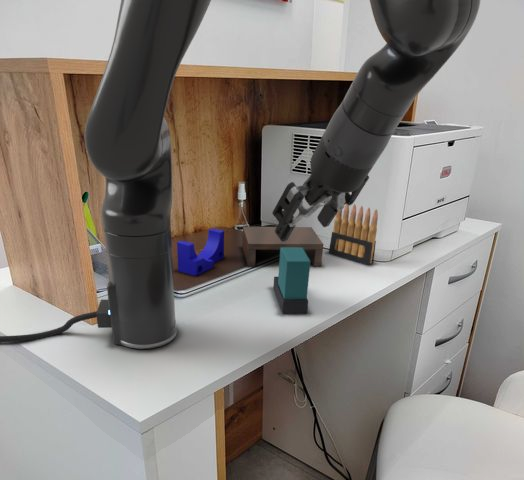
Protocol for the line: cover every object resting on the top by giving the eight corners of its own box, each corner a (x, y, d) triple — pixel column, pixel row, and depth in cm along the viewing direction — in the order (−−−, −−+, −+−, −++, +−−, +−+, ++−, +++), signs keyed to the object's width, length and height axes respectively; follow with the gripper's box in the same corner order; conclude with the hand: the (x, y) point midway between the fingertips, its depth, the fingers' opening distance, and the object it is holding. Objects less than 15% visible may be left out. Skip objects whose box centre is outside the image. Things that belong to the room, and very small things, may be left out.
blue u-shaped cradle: (195, 276, 99) (195, 247, 96) (178, 270, 101) (177, 242, 98) (229, 259, 108) (229, 232, 105) (212, 254, 110) (212, 228, 107)
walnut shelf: (247, 266, 105) (248, 243, 102) (242, 247, 115) (242, 226, 113) (321, 266, 107) (323, 244, 104) (309, 247, 117) (311, 227, 115)
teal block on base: (282, 314, 86) (286, 262, 81) (273, 288, 96) (276, 240, 91) (307, 313, 87) (312, 262, 82) (295, 288, 96) (299, 240, 91)
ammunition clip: (373, 263, 110) (382, 209, 104) (369, 265, 109) (378, 210, 103) (332, 251, 116) (339, 199, 110) (328, 253, 115) (334, 200, 108)
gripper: (371, 116, 66) (321, 201, 80) (292, 132, 59) (251, 222, 73) (405, 156, 65) (348, 236, 78) (327, 178, 57) (279, 261, 71)
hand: (301, 229), depth 75 cm, fingers open, 8 cm apart
